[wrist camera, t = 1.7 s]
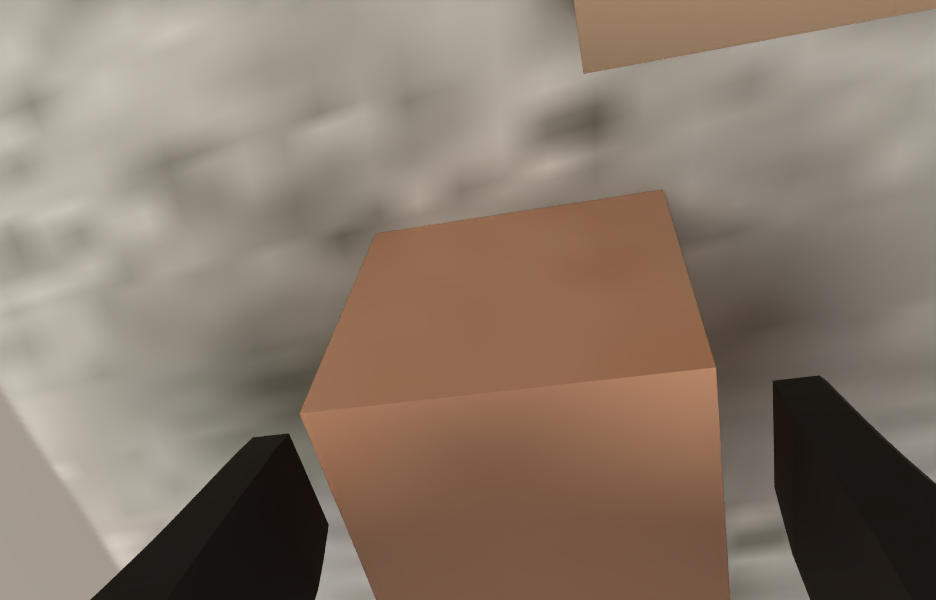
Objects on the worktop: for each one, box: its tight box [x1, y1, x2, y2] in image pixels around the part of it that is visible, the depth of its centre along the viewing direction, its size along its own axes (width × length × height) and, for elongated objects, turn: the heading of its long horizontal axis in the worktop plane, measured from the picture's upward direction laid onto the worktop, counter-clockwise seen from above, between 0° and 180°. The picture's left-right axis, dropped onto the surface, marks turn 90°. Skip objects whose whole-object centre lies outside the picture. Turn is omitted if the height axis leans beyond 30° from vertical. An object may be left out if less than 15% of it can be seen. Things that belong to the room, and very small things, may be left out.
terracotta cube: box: [299, 190, 730, 600], centre depth 13 cm, size 5×5×5 cm
